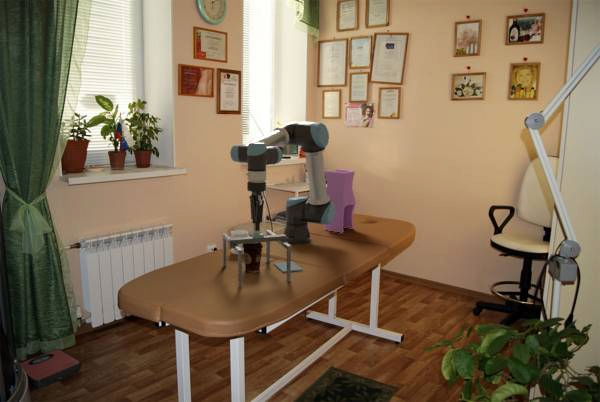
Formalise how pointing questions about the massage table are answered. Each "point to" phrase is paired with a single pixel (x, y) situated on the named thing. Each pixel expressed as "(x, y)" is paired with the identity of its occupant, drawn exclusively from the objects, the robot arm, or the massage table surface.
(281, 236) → the bar
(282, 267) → the mat
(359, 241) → the massage table surface
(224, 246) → the frame
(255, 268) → the coffee cup
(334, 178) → the purple arched stand
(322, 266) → the massage table surface
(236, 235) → the mug
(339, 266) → the massage table surface
